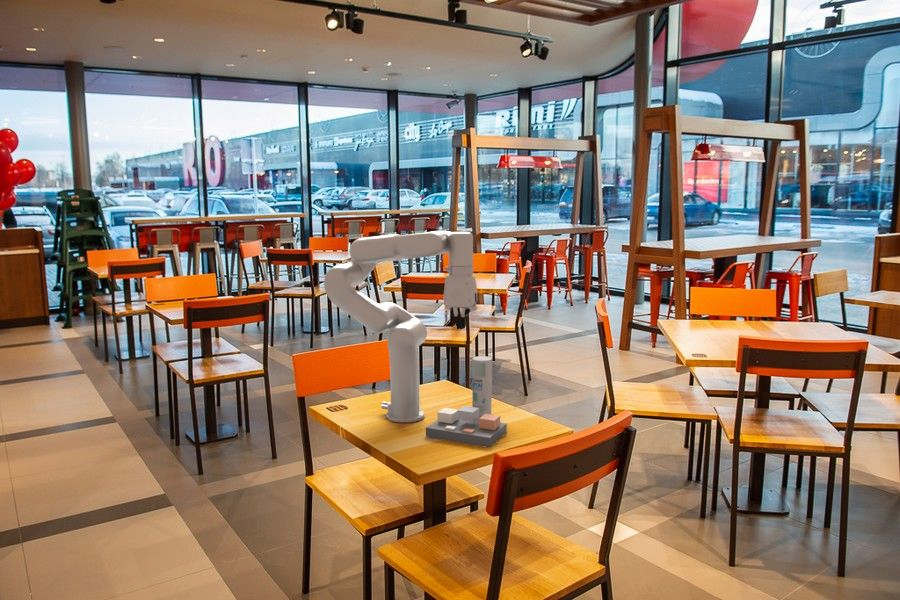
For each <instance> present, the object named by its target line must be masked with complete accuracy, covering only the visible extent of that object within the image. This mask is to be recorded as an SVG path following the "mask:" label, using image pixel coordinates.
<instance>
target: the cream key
mask: <svg viewBox="0 0 900 600" xmlns="http://www.w3.org/2000/svg"><path fill="white" fill-rule="evenodd" d="M458 410H459V409H455V408H448V407H443V408H441V409H440V410H439V411H437V420H436V421H438V422H444V423H451V424H452V423H454V422H455V421H457V420H458Z"/></svg>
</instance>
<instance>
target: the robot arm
mask: <svg viewBox="0 0 900 600" xmlns="http://www.w3.org/2000/svg"><path fill="white" fill-rule="evenodd" d="M444 254H448V266H445V268H444V269H445V272H448V274H447V275H446V276H445V281H444V287H443V288H444V289H443V305H444V309H445V310H449V311H450V312H452V314H453V316H454V317H455V326H456V330H464V329H466V327H467V316H468V315H469V314H470V313H472V312H473V313H474V312H476V311H478V307H477V305H478V288H477V280H476V275H474V236H473V234H472V233H471V232H470V231H448V230H434V231H433V230H432V231H428V232H421V233H411V234H398V233H393V234H384V235H376V236H366V237H359V238H357V239H355V240H354V241H353V242H352V243H351V245H350V246H349V255H350V257H351V258H350V259H349V260H348V261H347V262H344V263H341V264H340V263H339V264H336V265H334V266H332V267H331V268H328V270H327V271H326V273H325V274H324V275H325V276H324V279H323V286H324V290H325V294H326V297H328V299H329V300H330V302H331V303H333V305H335V306H336V307H337V308H339V309H340V310H342V311H343V312H344V313H346V314H347V315H349V316H350V317H351V318H353V319H354V320H355V321H356V322H358V323H359V324H361V325H362V326H364V327H365V329H368V330H369V331H370V332H372V333H375V334H382V333H385V332H387V331H388V332H389V333H388V336H387V349H388V355H389V356H388V357H389V373H390V376H389V377H390V382H389V383H390V402H388V401H382V403H381V407H380V408H381V409H383V410H387V412H386V417H385V418H386V419H387V420H389V421H391V422H394V423H400V424H401V423H402V424H403V423H413V422H414V423H415V422H418V421H421V420H423V419H424V418H425V412H424V411H423V410H422V409H421V407H420V359H419V353H418V347H420V346H421V345H422V344H423V343H425V341H426V340H427V337H428V331H427V327H426V325H425V324H424V322H423V321H421V320H420V319H419V318H417V317H416V316H414V314H411V313H410V312H409V311H407V310H406V309H405V308H403V307H401V306H400V305H398V304H397V303H394V302H391V301H381V302H379V303H378V302H376V301H375V300H373V299H372V298H371V297H369V296H367V294H365V293H363V292H361V291H359V290H357V289H355V287H357V286H359V285H361V284H362V283H363V282H364V281H365V280H366V279H367V277H368V276H369V275H370V273H371V272H372V271H374V269H375V268H376V266H377V265H378V263H384V262H397V261H403V260H407V259H409V260H410V259H419V258H429V257H436V256H438V255H444ZM353 287H354V288H353Z"/></svg>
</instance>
